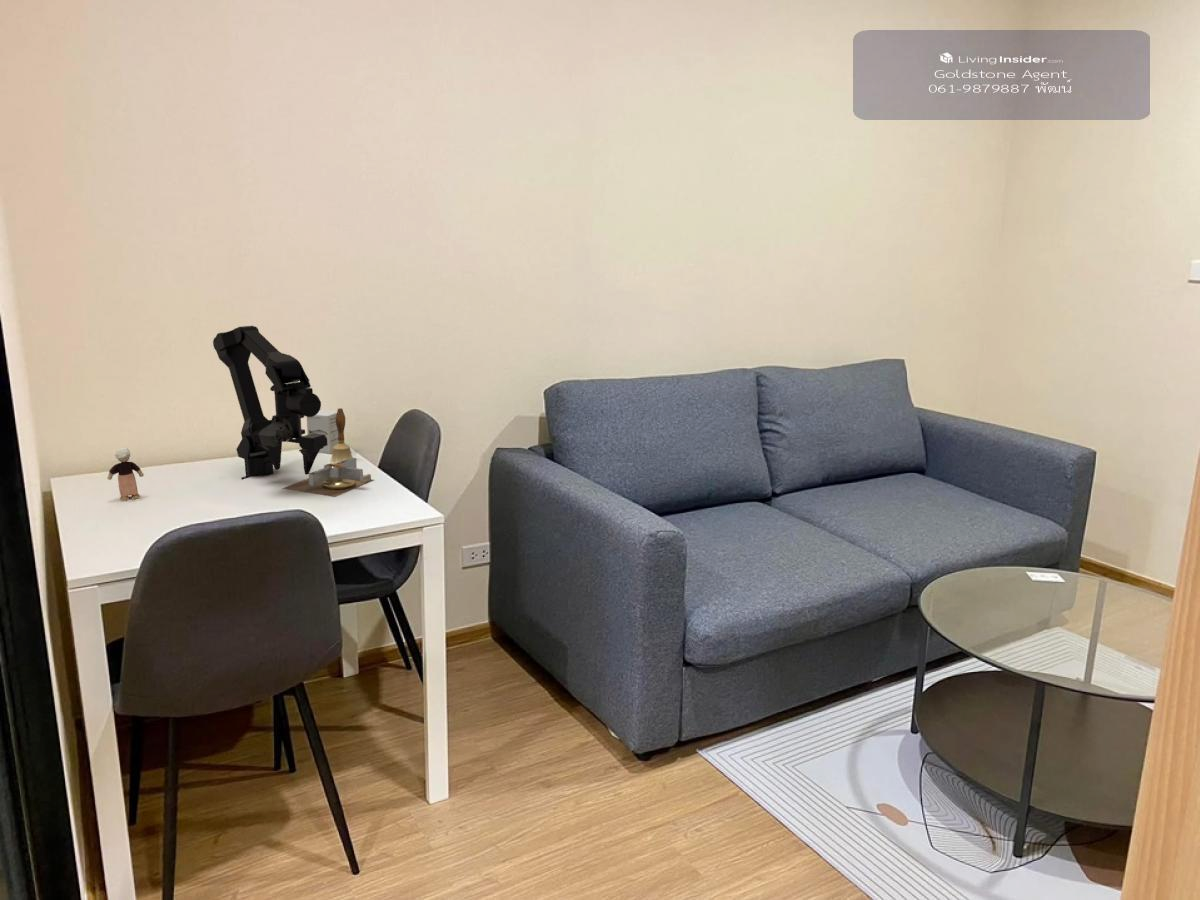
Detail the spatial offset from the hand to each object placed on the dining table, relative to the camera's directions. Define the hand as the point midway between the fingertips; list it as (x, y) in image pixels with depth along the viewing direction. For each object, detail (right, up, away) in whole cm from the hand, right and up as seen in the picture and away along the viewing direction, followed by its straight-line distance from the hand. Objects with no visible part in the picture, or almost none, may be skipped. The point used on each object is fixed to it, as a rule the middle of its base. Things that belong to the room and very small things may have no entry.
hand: (292, 471), depth 231 cm
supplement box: (-2, +4, +36) cm, 36 cm away
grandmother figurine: (-37, -6, -7) cm, 39 cm away
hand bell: (+5, +1, +25) cm, 26 cm away
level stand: (+8, -5, +3) cm, 10 cm away
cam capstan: (+13, -3, +1) cm, 13 cm away
